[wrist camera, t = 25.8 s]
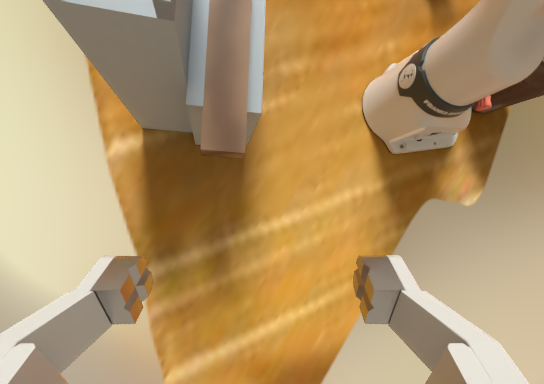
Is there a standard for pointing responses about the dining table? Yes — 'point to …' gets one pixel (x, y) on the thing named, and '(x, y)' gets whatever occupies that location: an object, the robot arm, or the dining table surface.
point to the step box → (158, 56)
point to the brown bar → (226, 79)
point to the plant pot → (518, 91)
